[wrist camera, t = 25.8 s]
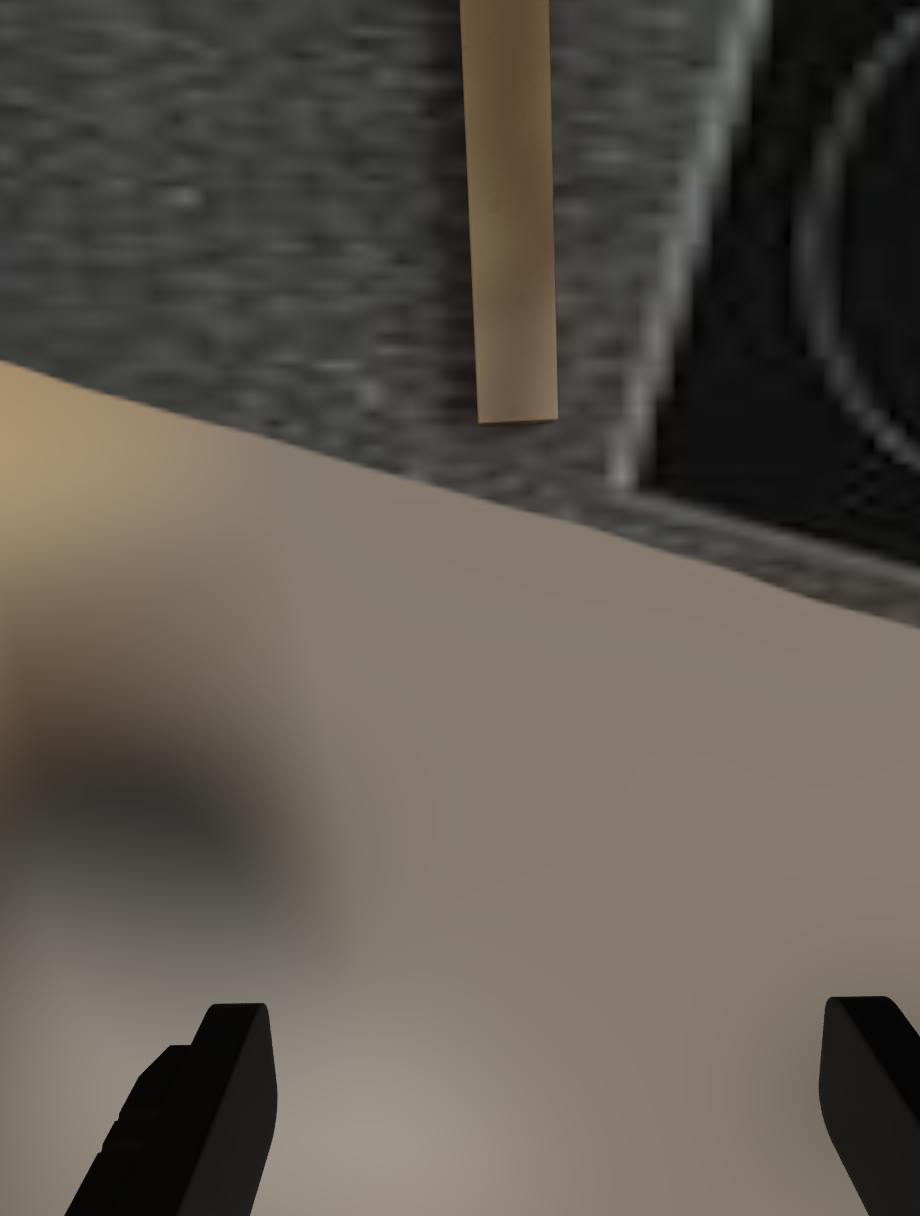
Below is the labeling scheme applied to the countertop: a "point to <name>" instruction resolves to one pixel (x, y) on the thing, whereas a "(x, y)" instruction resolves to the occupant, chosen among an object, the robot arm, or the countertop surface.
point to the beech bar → (510, 208)
